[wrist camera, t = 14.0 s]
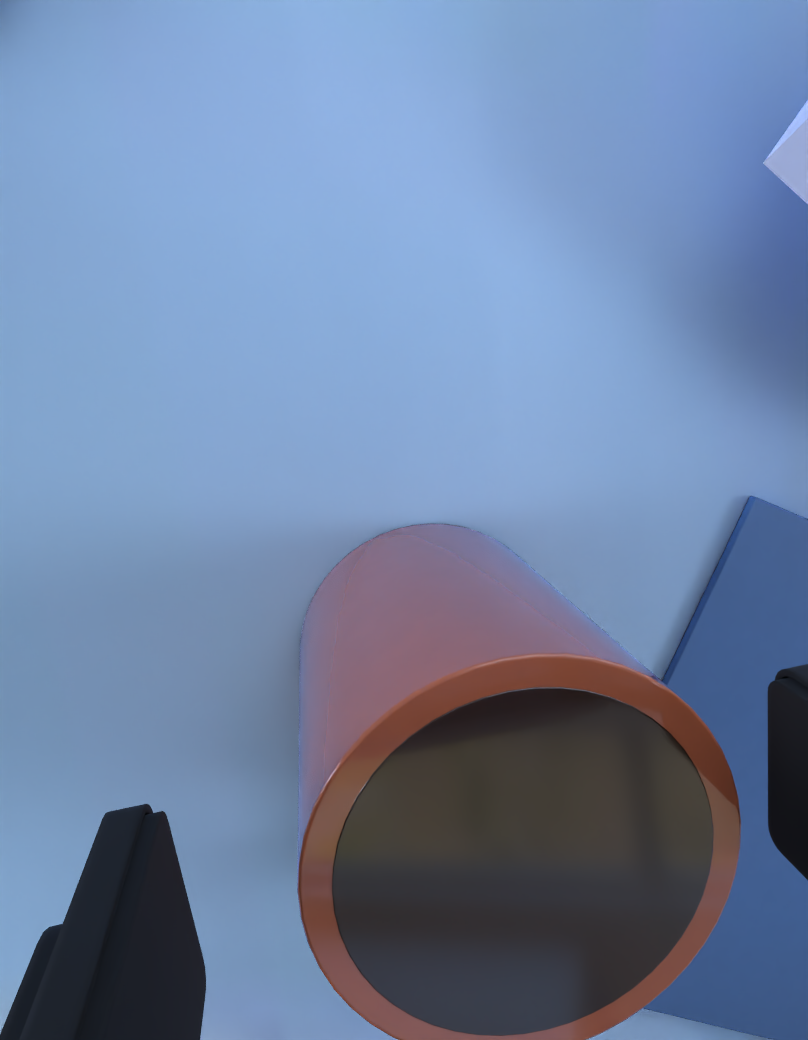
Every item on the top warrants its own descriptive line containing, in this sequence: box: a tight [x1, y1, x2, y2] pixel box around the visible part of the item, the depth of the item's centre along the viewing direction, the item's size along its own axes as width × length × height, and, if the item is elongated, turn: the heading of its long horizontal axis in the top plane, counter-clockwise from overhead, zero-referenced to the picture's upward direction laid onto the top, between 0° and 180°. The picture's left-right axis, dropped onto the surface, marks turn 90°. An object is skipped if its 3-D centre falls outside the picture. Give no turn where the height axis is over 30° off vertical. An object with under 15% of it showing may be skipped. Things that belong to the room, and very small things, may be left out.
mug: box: [297, 524, 741, 1040], centre depth 16 cm, size 10×7×9 cm
